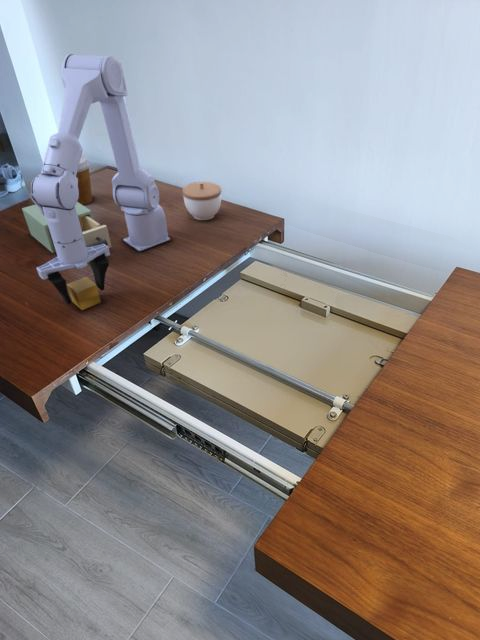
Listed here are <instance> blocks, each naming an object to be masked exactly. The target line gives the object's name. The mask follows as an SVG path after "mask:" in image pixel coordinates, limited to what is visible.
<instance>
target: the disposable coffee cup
mask: <svg viewBox="0 0 480 640" xmlns="http://www.w3.org/2000/svg"><path fill="white" fill-rule="evenodd" d="M90 164H91V163H90V160H88V158H87V157H86V156H84V155H81V159H80V163H79V167H78V171H77V175H76V177H77V178H78V190H79V198H78V200H77V202H79V203H80V204H82V205H83V206H84V205H87V204H89V203H91V202H92V201H93V194H92V184H91V175H90Z"/></svg>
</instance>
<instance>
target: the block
mask: <svg viewBox="0 0 480 640" xmlns="http://www.w3.org/2000/svg"><path fill="white" fill-rule="evenodd" d="M66 287H67V291H68V294H69V297H70V300H71V303H73V304H74V305H75V306H76V307H77V308H78V309H80V311H84V310H86V309H89V308H91V307H93V306H97V305H98V304H100V303H102V300H101V297H100V293H99V290H98V289H99V288H98V287H97V285H96V282H95V281H92V280H91V278H89V277H88V276H84V277H81V278H79V279H76V280H74V281H71V282H68V283H66Z"/></svg>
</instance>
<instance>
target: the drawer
mask: <svg viewBox="0 0 480 640" xmlns="http://www.w3.org/2000/svg"><path fill="white" fill-rule="evenodd" d="M79 222H80V226H81V230H82V233H83V237H84V241H85V245H86V248H87V247H93V246H98V245H101V244H105V245H106V246H108V248H109V249H110V248H112V243H111V238H110V234H109V229H108V225H106V224H102V225H101V223H99V222H98V221H96V220H94V218H93V219H91V218H90V217H88V216H87V215H85V216H82V217H79ZM48 231H49V227H48ZM49 234H50V231H49ZM50 237H51V234H50ZM51 240H52V237H51ZM52 243H53V240H52ZM53 245H54V243H53Z"/></svg>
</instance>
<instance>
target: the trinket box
mask: <svg viewBox="0 0 480 640" xmlns="http://www.w3.org/2000/svg"><path fill="white" fill-rule="evenodd" d="M181 190H182V191H181V192H182V197H183V203H184V206H185V208H186V211H187V212H188V213H189V214H190V215H191V216H192V217H193V218H194V219H196V220H199V221H209V220H211V219H213V218H215V215H216V214H217V213H218V212H219V210H220V209H221V205H222V187H221V185H219V184H217V183H215V182H212V181H211V182H210V181H196V182H192V183H188V184H186V185H185V186H183V188H182V189H181Z"/></svg>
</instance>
